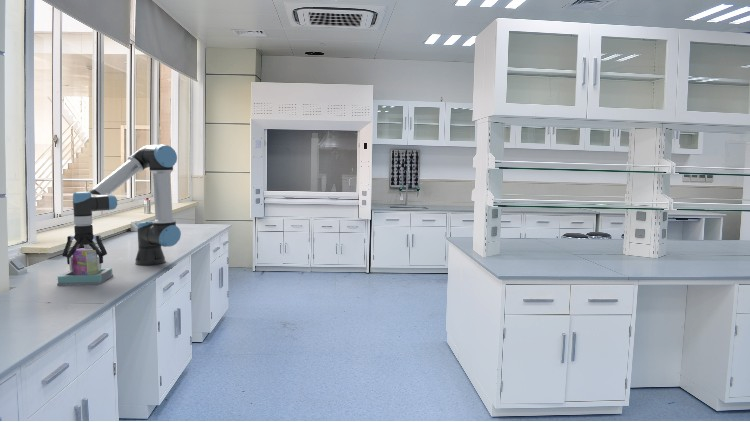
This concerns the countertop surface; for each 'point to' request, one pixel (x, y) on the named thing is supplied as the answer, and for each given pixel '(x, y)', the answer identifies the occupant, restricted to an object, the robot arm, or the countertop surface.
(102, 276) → the teal square tray
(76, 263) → the box
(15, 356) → the countertop surface
